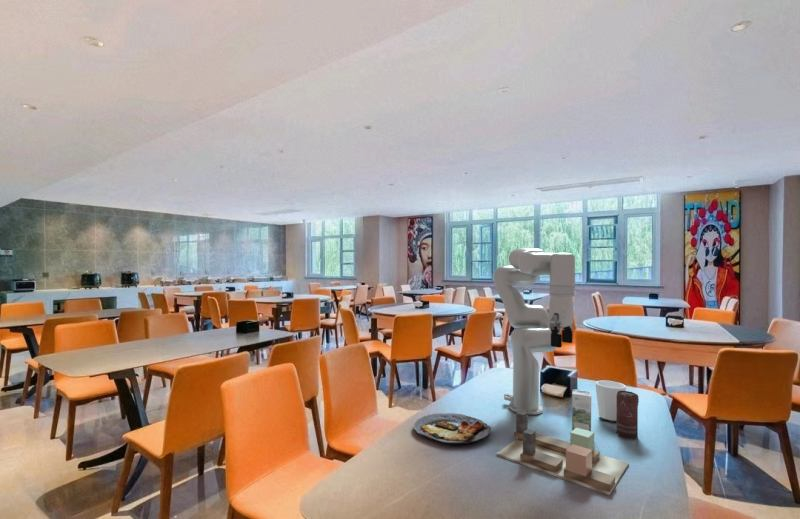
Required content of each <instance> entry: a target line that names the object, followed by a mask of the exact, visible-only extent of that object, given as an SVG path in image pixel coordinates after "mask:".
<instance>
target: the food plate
mask: <svg viewBox="0 0 800 519" xmlns="http://www.w3.org/2000/svg"><path fill="white" fill-rule="evenodd" d="M413 428H414V431H416V433H417V434H420V435H422V436H425V437H427V438H429V439H433V440H435V441H439V442H441V443H445V444H452V445H454V444H459V445H460V444H463V445H464V444H470V443H475V442H477V441H481V440H483V439H485V438H488V437H489V436H490V435H491V430H492V428H491V426H490V425H488V424H487V423H486V422H484V421H483V420H481V419H479V418H475V417H473V416H469V415H466V414H462V413H455V412H454V413H453V412H451V413H450V412H448V413H447V412H446V413H441V412H440V413H439V412H438V413H432V414H427V415H424V416H422V417H420V418H418V419H416V421H415V422H414V423H413Z"/></svg>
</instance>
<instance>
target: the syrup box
mask: <svg viewBox="0 0 800 519" xmlns="http://www.w3.org/2000/svg"><path fill="white" fill-rule="evenodd" d="M571 396H572V397H571V403H572V404H571V432H572V431H573V430H574V429H575V428H580V429H584V430H588V431H592V391H590V390H582V389H574V388H573V389H572V394H571Z"/></svg>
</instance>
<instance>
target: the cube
mask: <svg viewBox="0 0 800 519" xmlns="http://www.w3.org/2000/svg"><path fill="white" fill-rule="evenodd" d="M572 444H574V445H577V446H580V447H584V448H587V449H591V450H592V451H593V450H595V432H594V431H592V430H591V431H588V430H584V429H580V428H575V429H574V430H573V431H572V430H571V432H570V446H571V445H572Z"/></svg>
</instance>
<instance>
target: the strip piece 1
mask: <svg viewBox="0 0 800 519" xmlns="http://www.w3.org/2000/svg"><path fill="white" fill-rule="evenodd" d="M536 433H537V431H536V430H533V429H529V428H527V430H525V431H524V432H523V453H521V454H520V460H523V461H526V462H528V463H531V464H534V465H537V466H540V467H543V468H546V469H549V470H551V471H554V472H557V471H558V470H559V469H560V468H561V467H562V466H563V460H562V459H559V458H556V457H553V456H550V455H547V454H544V453H541V452H537V451H535V447H536Z"/></svg>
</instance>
